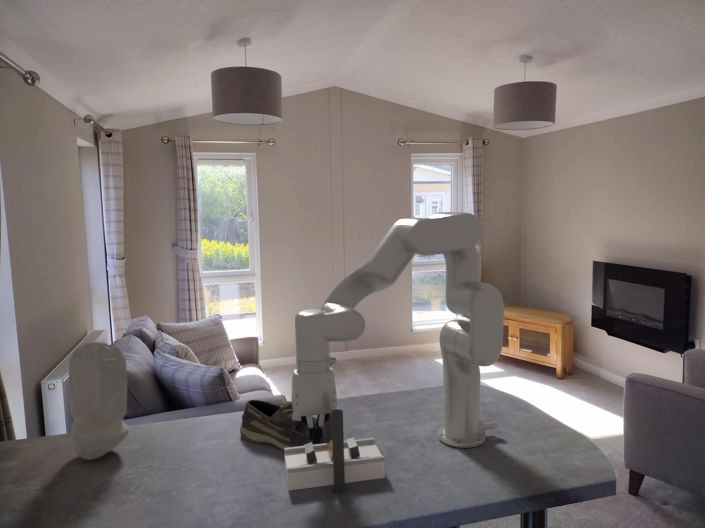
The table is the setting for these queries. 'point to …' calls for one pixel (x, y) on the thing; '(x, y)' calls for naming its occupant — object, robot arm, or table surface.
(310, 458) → the grey block
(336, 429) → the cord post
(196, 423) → the table surface
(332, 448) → the rectangular block
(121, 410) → the sculpture
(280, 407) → the boat shoe
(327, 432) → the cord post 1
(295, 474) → the breaker panel
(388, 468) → the table surface
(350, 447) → the grey block
